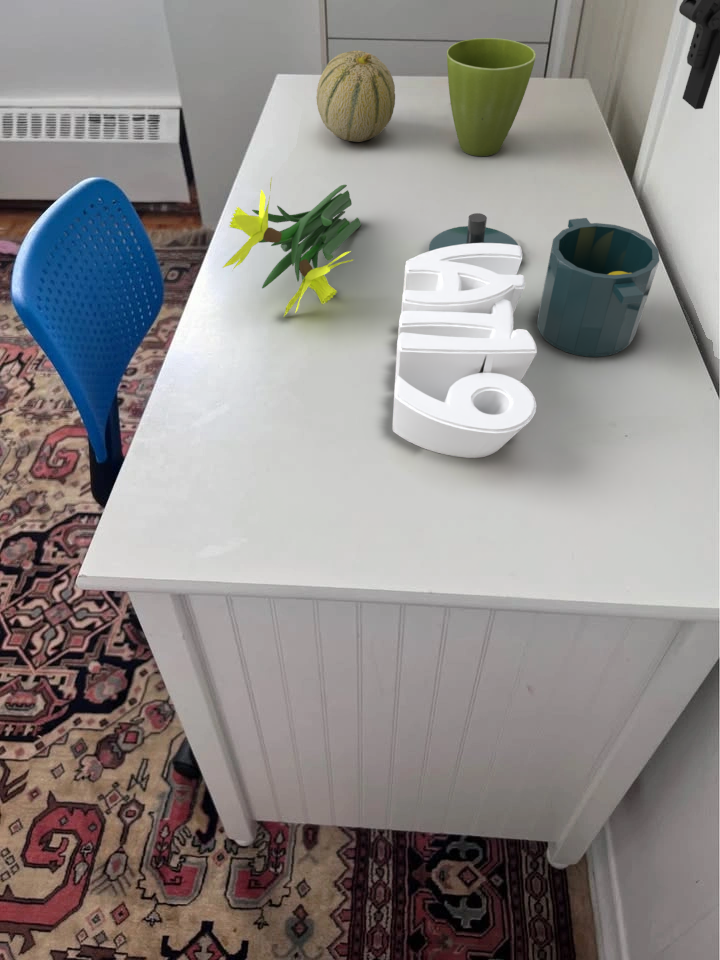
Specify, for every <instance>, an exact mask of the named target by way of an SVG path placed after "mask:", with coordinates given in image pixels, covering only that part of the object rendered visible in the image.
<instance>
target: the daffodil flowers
mask: <svg viewBox="0 0 720 960" xmlns="http://www.w3.org/2000/svg"><path fill="white" fill-rule="evenodd" d="M272 180H273V176H271V177H270V182H269V185H270V186H269V188H270V189H269V190H270V191H269V193H271V190H272ZM346 187H347V184H341V185H339V186H338V187H337V188H334V190H333V191H331V192H329V194H328V195H326V197H324V198H323V199H322V200H321V201H320V202H319V203H318V204H316V205H315V206H314V207H313V208H312V209H311V210H307V211H304V212H299V213H295V214H289V213H288V212H286V210H284V209H283V208H282V207H281V206H280V205H276V207H277V210H278V211H279V213H280V215H279V214H274V213H270V212H269V206H270V199H271V196H269V198H268V201H267V200H266V199H267V197H266V194H265V193H264V191H263V190H262V189H260V195H259V204H258V205H259V206H258V209H251V211H252V212H253V213H254V214H255V215H250V214H248V213H247V212H245V211H244V210H243V209H242V208H240V207H239V206H238V205H237V206H236V207H235V208H236V209H234V213H232V217H231V218H230V219H231V221H229V224H228V227H230V228H231V229H235V230H240V231H242V232H244V234H246V235H247V236H249V238H247V240H246V242H245V243H244V244H242V246H241V247H240V249H238V250H237V251H236V252H235V253H234V254H233V255H232V256H231V257H230V259H228V261H226V262H225V264H223V266H222V269H224V268H226V267H230V266H233V265H234V264H235V265H234V266H233V268H232V270H231V272H233V271H234V269H235V268H236V267H238V266H240V264H242V263H243V262H244V261H245V260H246V258H247V257H248V255H249V253H250V252H251V250H252V249H253V247H254V246H256V245H258V244H259V243H260V244H262V243H271V245H270V247H275V246H280V248H281V250H282V251H283V252H285V253H287V252H288V253H287V254H286V255H285V256H283V258H281V259H280V260H279V261H278V262H277V263H276V265H275V266H274V268H273V269H272V270H271V271H270V273H269V274H268V275H267V277H266V279H265V280H264V282H263V284H262V286H261V289H264V288H266V287H267V286H269V285H270V284H271V283H272V282H273V281H275V280H276V279H277V278H278V277H279V276H280V275H282V274H283V273H284V272H285V271H286V270H287V269H288V268H289V267H290V266H292V267H294V271H295V277H296V281H297V282H299V280H300V274H301V283H300V285H299V287H298V289H297V291H296V293H294V295H293V296H292V297H291V299H289V301H288V303H287V305H286V306H285V310H284V315H283V317H285V316H287V314H288V313H289V312H290V311H291V309H292V308H293V307H294V305H295V304H296V308H295V311H294V314H296V313H297V312H298V310H299V308H300V302H301V299H302V298H303V296H304V294H305V292H306V291H307V290H308V288H309V289H311V290H313V291H314V292H315V294H316V296H317V297H318V299H319V301H320V304H321V305H326V303H328V301H331V299H333V298H334V296H336V295H337V294H338V292H339V291H338V290H336V289H335V288H334V287H332V286H331V285H330V284H329V281H328V279H327V277H326V276H325V275H327V274H328V273H329V272H331V270H332V269H334V268H336V267H338V266H340V265H341V264H346V263H350V262H353V261H355V259H354V258H352V259H349V260H343V261H340V262H336V261H338V260H340V259H342V258H343V257H345V256H346V255H349V253H351V252H352V250H350V251H349V250H348V251H346V252H343V253H340V255H338V256H337V257H335V255H333V253H334V252H335V251H336V250H337V249H338V248H339V247H340V246H342V245H343V244H344V243H345V241H347V240H348V239H349V237H351V236H352V235H353V234H354V233H355V232H356V231H357V230H358V229H359V228H361V226H362V223H361V220H360V218H359V217H355V219H353V220H352V221H349V220H348V219H347V218H346V217H344V218H341V217H342V216H343V215H344V214H345V213H346V210H347V209H348V208H349V207H351V206H352V203H353V202H352V199H351V195H350V191H349V190H346V191H344V192H343V193H341V192H342V191H343V190H344V189H345V188H346ZM266 201H267V205H266ZM265 207H266V208H265ZM269 222H272V223H277V224H278V223H286V222H290V223H291V222H292V223H293V224H292V225H291V226H289V227H286V228H285V229H284V228H283V229H282V230H277V229H276V228H273V227H269ZM321 251H322V254H323V257H324V259H325V261H327V262H328V261H330V262H329V263H327V264H325V265H322V266H318V264H319V263H318V262H319V253H320V252H321ZM331 260H332V261H331ZM311 262H312V264H311ZM296 302H297V303H296Z"/></svg>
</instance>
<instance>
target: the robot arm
mask: <svg viewBox="0 0 720 960" xmlns="http://www.w3.org/2000/svg"><path fill="white" fill-rule="evenodd" d="M678 11H679V13H680V14H681V15H682V16H683V17H685V18H686V19H688V20H689V21H690V22H692V23H694V24H695V28H694V32H693V35H692V38H691V42H690V45H689V50H688V52H687V56H686V63H687V64H688V65H689V66H690V71H689V75H688V78H687V82H686V85H685V87H684V92H683V95H682V100H683V101H685V102H686V103H687V104H688V105H689V106H691V107H692V108H693V109H694V110H703V109H704V106H705V103H706V100H707V97H708V94H709V92H710V91H709V90H710V88H711V84H712V82H713V78H714V75H715V71H716V69H717V65H718V62H719V59H720V0H682V2H681V3H680V5H679V9H678Z"/></svg>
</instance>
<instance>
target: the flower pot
mask: <svg viewBox="0 0 720 960" xmlns="http://www.w3.org/2000/svg"><path fill="white" fill-rule="evenodd" d="M536 53H537V52H536V51H535V50H534V49H533V47H531V46H529V45H527V44H525V43H523V42H519V41H516V40H511V39H507V38H498V37H480V38H471V39H466V40H465V39H464V40H461V41H457V42H456V43H453V44H452V45H450V46H449V47H447V50H446V64H447V84H448V92H449V101H450V109H451V114H452V119H453V124H454V129H455V132H456V137H457V140H458V144H459V148H460V150H461V151H462V152H463V153H464V154H467V155H470V156H474V157H489V156H493V155H496V154H497V153H499V152H500V151H501V149H502V147H503V144H504V143H505V141H506V139H507V137H508V135H509V132H510V130H511V129H512V127H513V124H514V122H515V120H516V117H517V114H518V112H519V110H520V108H521V105H522V102H523V100H524V97H525V94H526V92H527V88H528V85H529V82H530V79H531V75H532V72H533V68H534V65H535V62H536V58H537V54H536Z"/></svg>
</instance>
